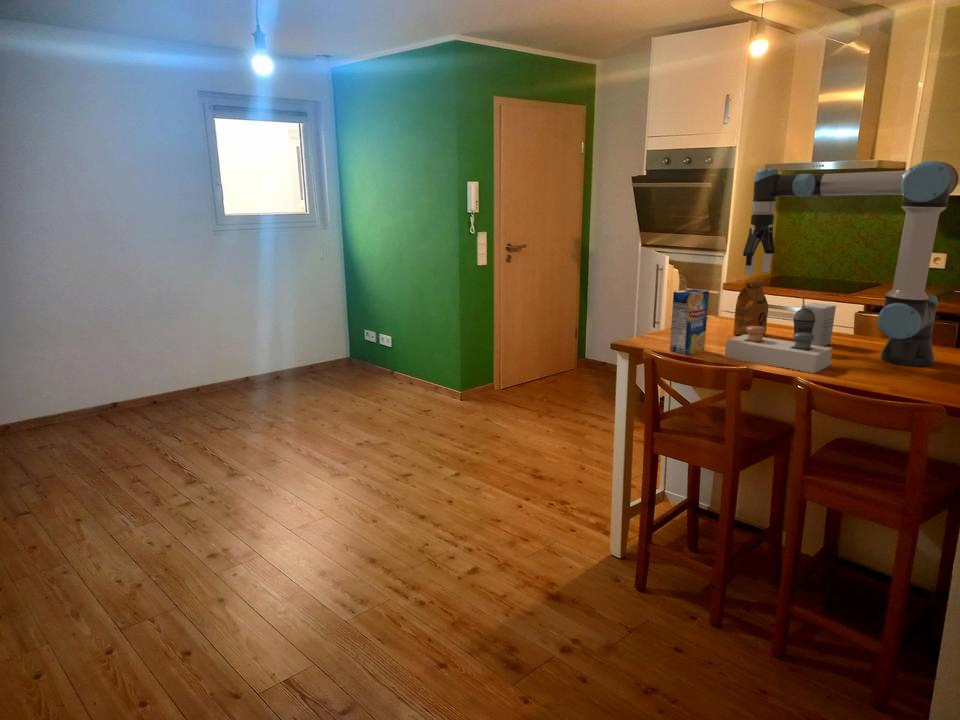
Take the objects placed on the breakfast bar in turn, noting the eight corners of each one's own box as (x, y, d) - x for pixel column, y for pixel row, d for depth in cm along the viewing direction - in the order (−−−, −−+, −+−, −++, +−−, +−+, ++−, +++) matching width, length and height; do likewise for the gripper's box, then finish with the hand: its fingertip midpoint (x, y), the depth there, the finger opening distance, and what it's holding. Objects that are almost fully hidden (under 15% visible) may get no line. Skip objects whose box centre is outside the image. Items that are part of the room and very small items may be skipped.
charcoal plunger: (814, 350, 215) (816, 334, 213) (807, 354, 211) (809, 337, 210) (796, 347, 219) (798, 331, 218) (788, 350, 215) (790, 334, 214)
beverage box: (669, 351, 237) (673, 291, 231) (689, 347, 243) (693, 288, 237) (684, 355, 231) (688, 294, 226) (704, 350, 237) (709, 291, 232)
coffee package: (770, 335, 261) (775, 281, 256) (750, 339, 255) (755, 283, 249) (748, 331, 269) (753, 278, 264) (729, 334, 263) (733, 280, 258)
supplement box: (796, 343, 247) (800, 304, 244) (807, 340, 253) (812, 302, 249) (820, 347, 240) (825, 307, 237) (831, 344, 246) (836, 305, 242)
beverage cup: (814, 353, 232) (821, 298, 227) (792, 352, 233) (798, 297, 228) (808, 348, 239) (815, 295, 234) (787, 348, 240) (793, 294, 235)
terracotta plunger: (766, 343, 226) (768, 327, 225) (759, 346, 222) (760, 330, 221) (749, 340, 230) (751, 325, 229) (742, 343, 226) (743, 327, 225)
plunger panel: (830, 365, 216) (832, 347, 214) (814, 373, 207) (816, 355, 205) (742, 350, 237) (744, 334, 236) (724, 357, 228) (726, 340, 226)
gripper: (767, 212, 244) (762, 269, 249) (736, 214, 227) (731, 275, 233) (788, 212, 238) (782, 270, 244) (757, 215, 222) (751, 276, 227)
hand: (757, 273), depth 238 cm, fingers open, 13 cm apart
